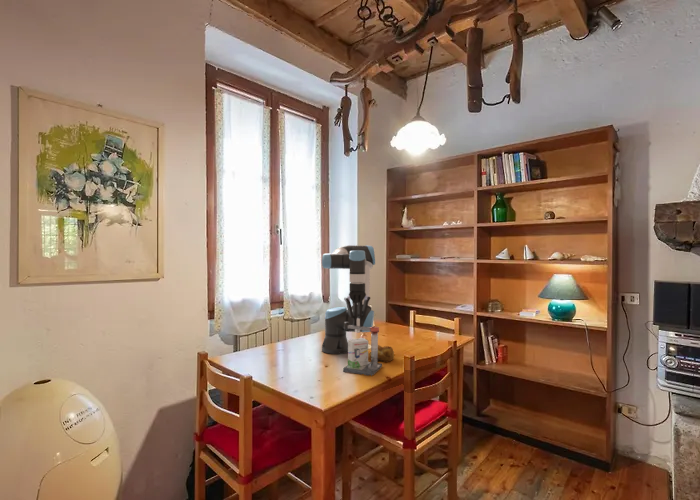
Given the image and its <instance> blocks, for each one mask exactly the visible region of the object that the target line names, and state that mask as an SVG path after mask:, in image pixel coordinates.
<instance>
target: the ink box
mask: <svg viewBox="0 0 700 500" xmlns="http://www.w3.org/2000/svg"><path fill="white" fill-rule="evenodd" d="M347 341H348V352H347V365H350V366H351V367H358V366H363V365H368V362H369V340H368V339H366V338H364V337H360V338H350V339H349V340H348V339H347Z"/></svg>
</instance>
